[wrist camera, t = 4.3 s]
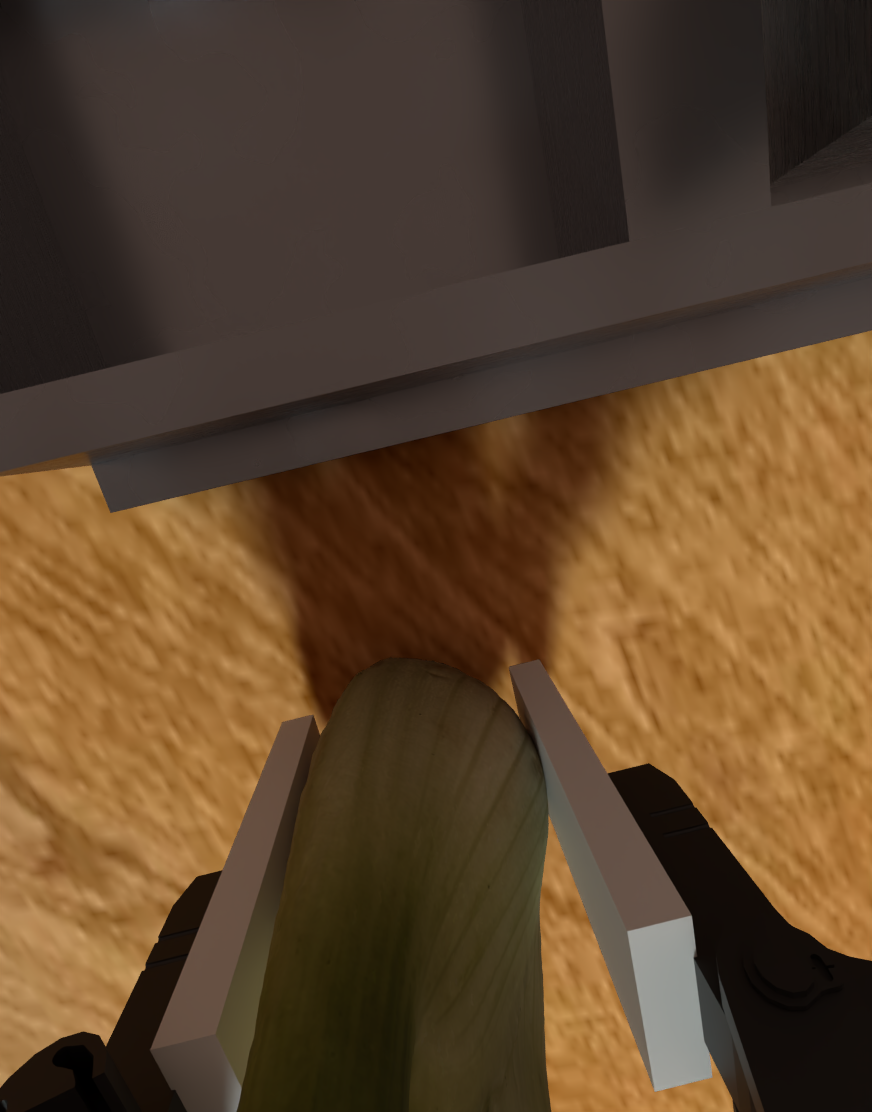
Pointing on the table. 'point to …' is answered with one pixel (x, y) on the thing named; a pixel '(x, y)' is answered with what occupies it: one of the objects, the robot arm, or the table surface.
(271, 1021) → the fennel bulb
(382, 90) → the grey compartment caddy
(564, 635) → the table surface
